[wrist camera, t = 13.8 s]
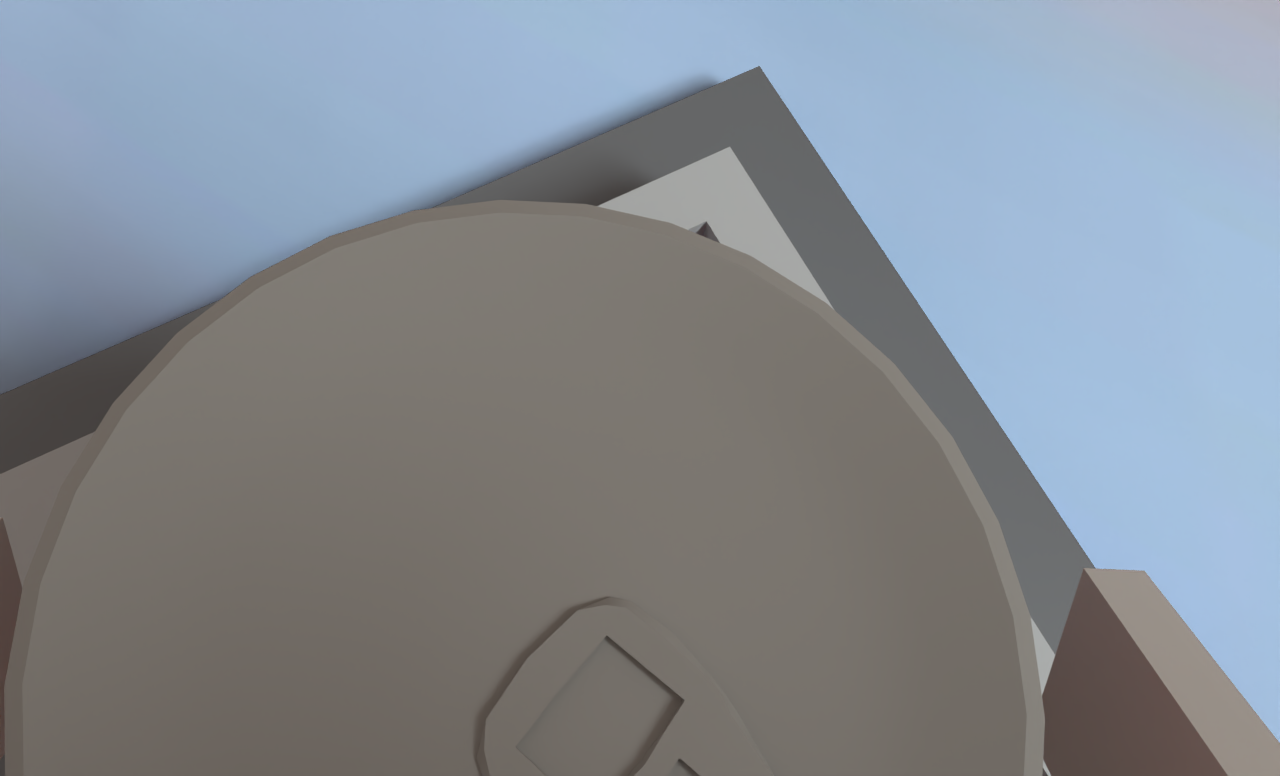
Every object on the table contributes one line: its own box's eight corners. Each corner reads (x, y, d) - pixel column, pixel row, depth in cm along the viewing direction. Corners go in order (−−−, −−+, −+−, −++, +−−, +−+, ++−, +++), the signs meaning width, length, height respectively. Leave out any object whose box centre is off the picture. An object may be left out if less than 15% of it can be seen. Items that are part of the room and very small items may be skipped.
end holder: (750, 97, 23) (779, -12, 20) (1283, 905, 18) (1450, 953, 14) (-92, 468, 19) (-244, 415, 16) (274, 1628, 14) (170, 1929, 11)
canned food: (687, 1005, 16) (860, 1564, 6) (270, 795, 17) (-271, 938, 6) (845, 583, 18) (1173, 418, 8) (472, 415, 19) (324, 62, 9)
